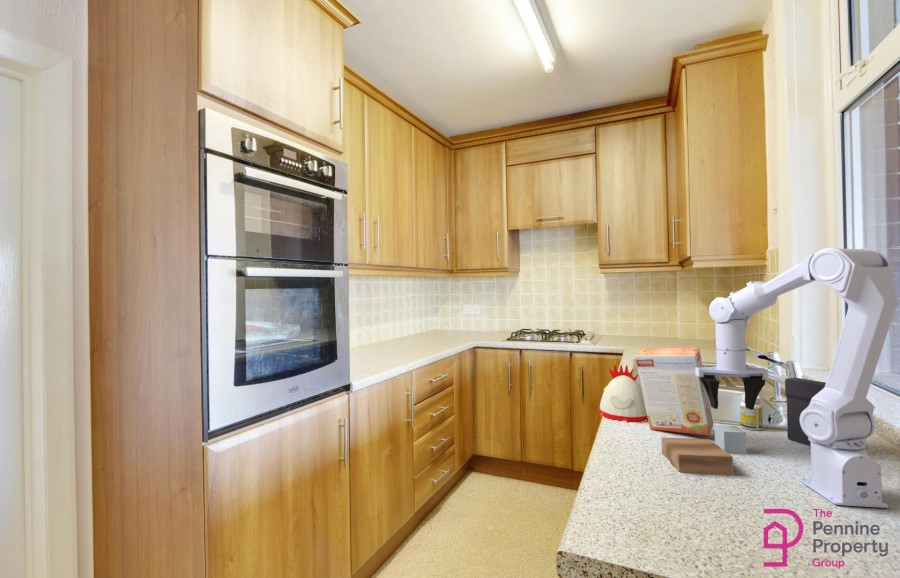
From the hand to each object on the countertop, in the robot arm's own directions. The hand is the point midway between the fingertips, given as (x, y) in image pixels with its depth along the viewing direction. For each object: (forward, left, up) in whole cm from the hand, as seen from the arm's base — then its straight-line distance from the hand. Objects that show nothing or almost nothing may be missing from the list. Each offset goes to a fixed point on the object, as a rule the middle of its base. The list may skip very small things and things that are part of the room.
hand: (731, 408), depth 96 cm
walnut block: (-10, +12, -10) cm, 18 cm away
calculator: (+4, -20, -10) cm, 23 cm away
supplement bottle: (+16, -12, -10) cm, 23 cm away
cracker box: (+11, +7, -8) cm, 15 cm away
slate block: (-1, +1, -10) cm, 10 cm away
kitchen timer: (+24, +18, -10) cm, 32 cm away
